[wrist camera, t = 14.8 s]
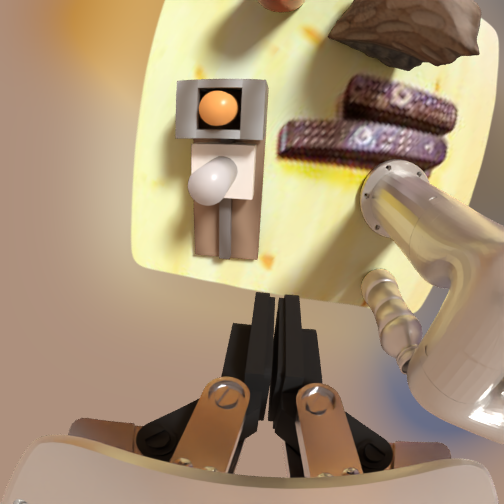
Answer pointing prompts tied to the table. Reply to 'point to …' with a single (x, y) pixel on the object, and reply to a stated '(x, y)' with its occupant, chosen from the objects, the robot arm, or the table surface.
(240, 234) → the rail base
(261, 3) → the soda can
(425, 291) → the table surface
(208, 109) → the button
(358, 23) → the brown rock
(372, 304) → the plastic bottle
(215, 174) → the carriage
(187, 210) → the table surface
